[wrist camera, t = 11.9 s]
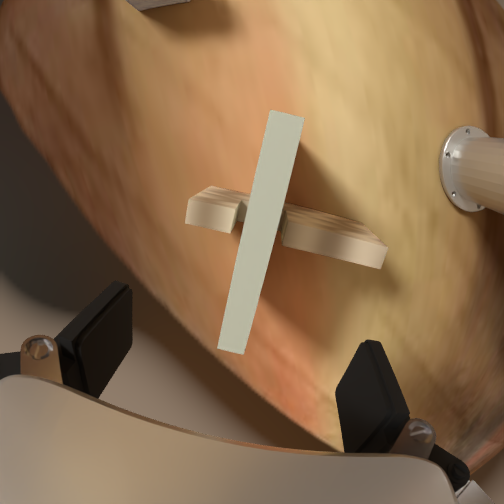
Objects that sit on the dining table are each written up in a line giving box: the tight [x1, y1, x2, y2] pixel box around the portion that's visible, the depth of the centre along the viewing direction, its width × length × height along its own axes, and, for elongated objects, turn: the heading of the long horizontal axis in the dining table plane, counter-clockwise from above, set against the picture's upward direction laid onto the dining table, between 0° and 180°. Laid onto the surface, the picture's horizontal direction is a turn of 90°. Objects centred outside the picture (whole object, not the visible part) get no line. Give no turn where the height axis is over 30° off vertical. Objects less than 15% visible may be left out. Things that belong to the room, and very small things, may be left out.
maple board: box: [185, 186, 388, 269], centre depth 32 cm, size 20×2×10 cm, turn 77°
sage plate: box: [217, 110, 305, 355], centre depth 29 cm, size 20×2×16 cm, turn 167°
